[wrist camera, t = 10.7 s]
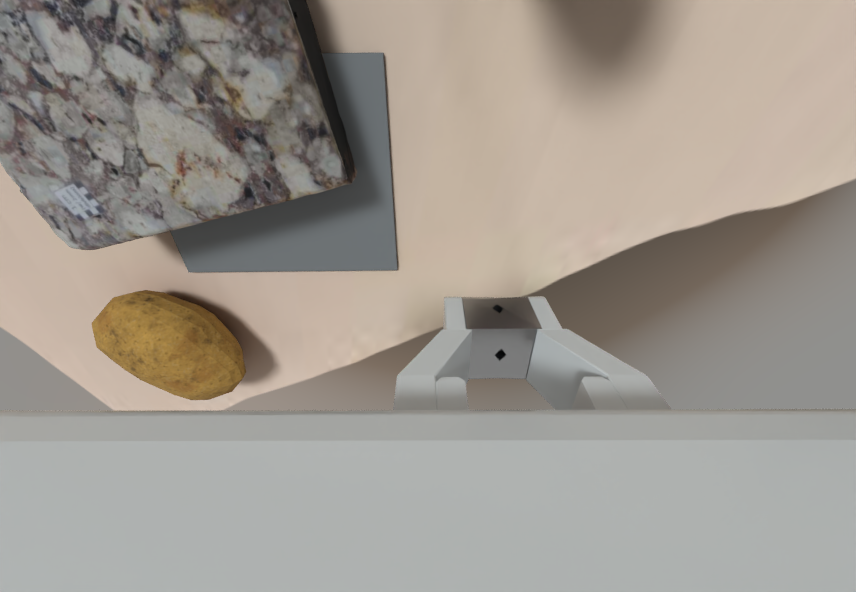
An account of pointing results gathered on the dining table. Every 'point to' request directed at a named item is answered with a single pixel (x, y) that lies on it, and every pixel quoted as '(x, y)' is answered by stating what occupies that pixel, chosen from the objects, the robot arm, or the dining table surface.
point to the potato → (170, 344)
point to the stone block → (164, 112)
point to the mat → (317, 199)
